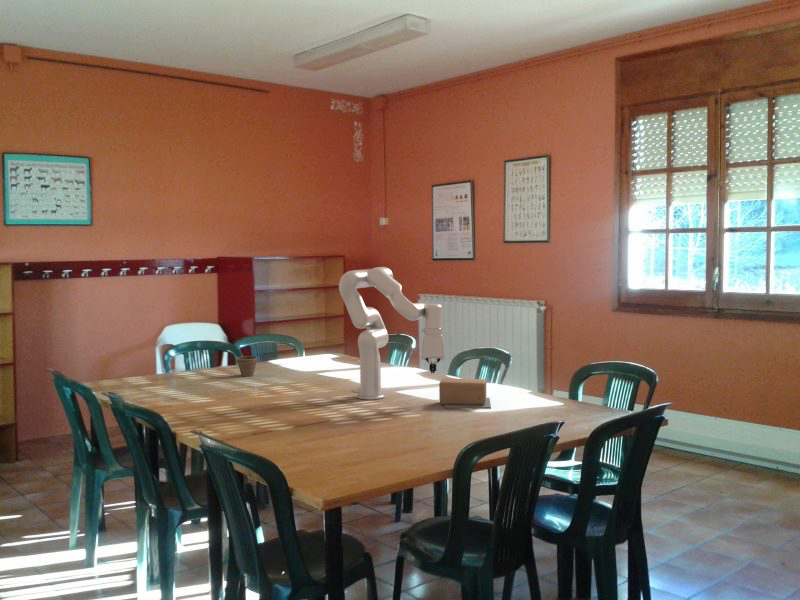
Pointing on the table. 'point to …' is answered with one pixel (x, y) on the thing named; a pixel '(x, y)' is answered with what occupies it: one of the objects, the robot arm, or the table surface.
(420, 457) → the table surface
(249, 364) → the flower pot
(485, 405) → the mat
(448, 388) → the wooden block
